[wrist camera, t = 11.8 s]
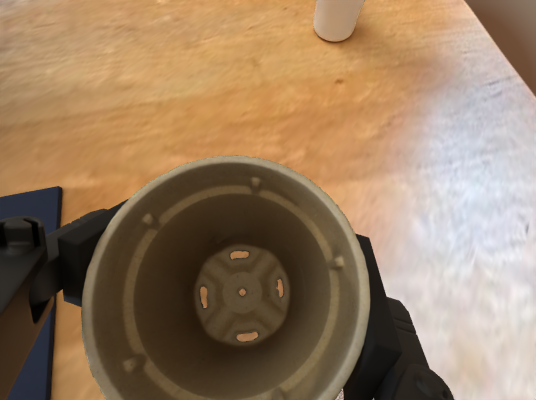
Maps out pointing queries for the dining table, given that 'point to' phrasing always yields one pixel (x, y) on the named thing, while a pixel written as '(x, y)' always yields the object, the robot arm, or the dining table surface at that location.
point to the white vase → (336, 18)
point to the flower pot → (226, 288)
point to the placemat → (40, 357)
